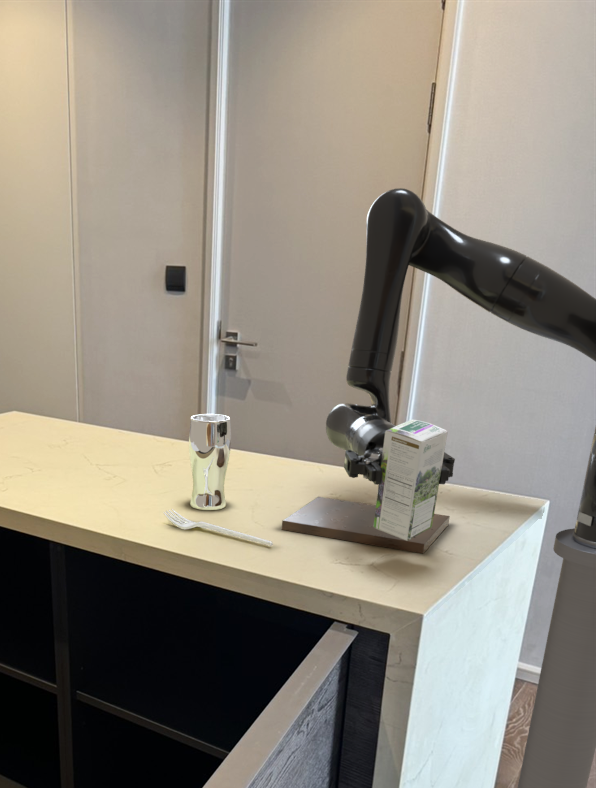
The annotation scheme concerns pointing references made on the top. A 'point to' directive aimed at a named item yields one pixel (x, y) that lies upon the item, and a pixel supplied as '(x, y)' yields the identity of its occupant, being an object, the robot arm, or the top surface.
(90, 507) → the top surface
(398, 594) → the top surface
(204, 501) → the beer glass
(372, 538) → the walnut board
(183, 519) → the fork
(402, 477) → the syrup box
